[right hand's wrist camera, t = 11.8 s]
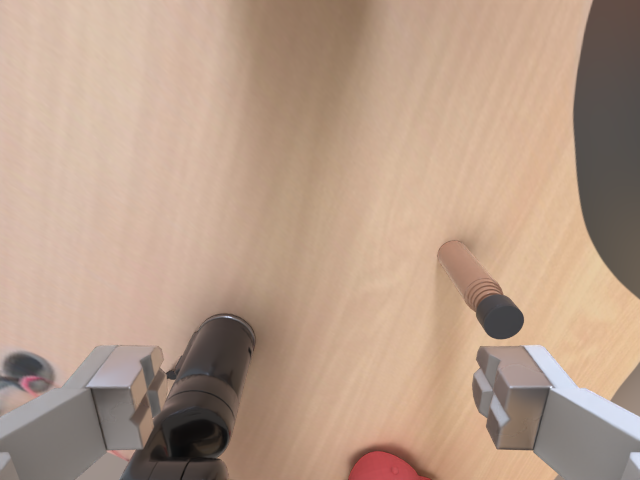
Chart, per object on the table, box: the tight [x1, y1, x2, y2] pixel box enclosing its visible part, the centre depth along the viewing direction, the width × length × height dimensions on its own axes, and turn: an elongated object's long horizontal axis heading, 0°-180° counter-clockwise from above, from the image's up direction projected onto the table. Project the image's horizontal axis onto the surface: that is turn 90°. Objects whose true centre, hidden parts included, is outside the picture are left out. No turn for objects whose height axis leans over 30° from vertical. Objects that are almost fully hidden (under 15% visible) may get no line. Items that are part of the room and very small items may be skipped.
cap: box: [476, 294, 524, 339], centre depth 46 cm, size 4×4×3 cm
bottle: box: [438, 241, 503, 312], centre depth 53 cm, size 4×4×18 cm
